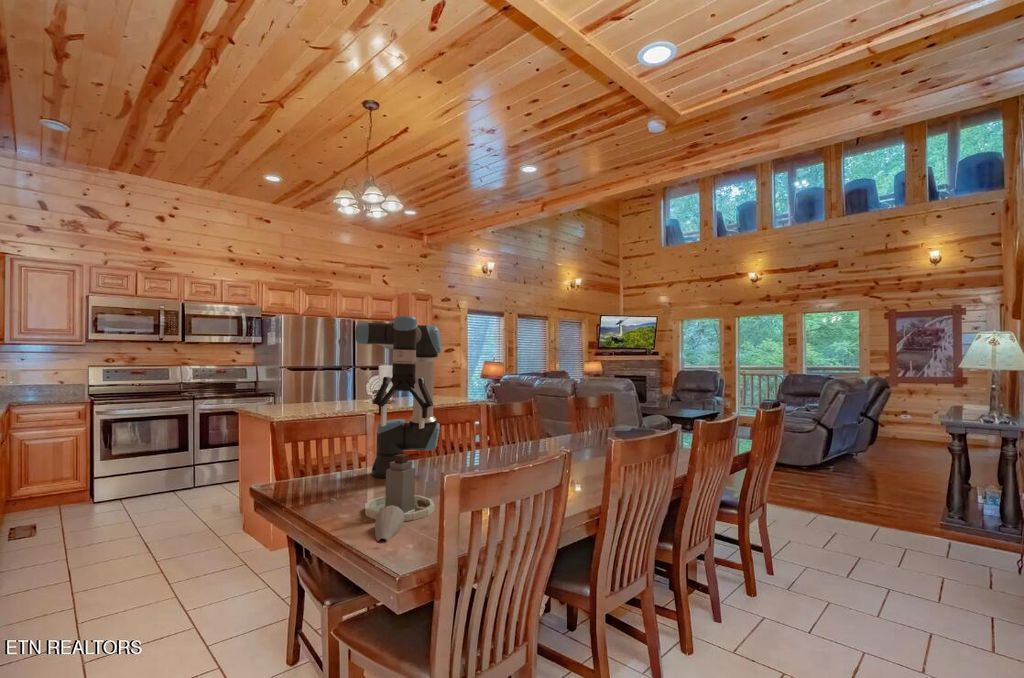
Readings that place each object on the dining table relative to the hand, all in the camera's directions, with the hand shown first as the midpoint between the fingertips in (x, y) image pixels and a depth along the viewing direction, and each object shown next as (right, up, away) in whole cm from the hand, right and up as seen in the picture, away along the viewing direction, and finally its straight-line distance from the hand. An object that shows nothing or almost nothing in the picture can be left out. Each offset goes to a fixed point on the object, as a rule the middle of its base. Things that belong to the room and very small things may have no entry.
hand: (402, 427), depth 170 cm
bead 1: (+6, -28, +4) cm, 28 cm away
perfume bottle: (-1, -27, -1) cm, 28 cm away
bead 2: (+6, -27, -4) cm, 28 cm away
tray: (-1, -28, -1) cm, 29 cm away
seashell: (0, -28, -20) cm, 35 cm away
